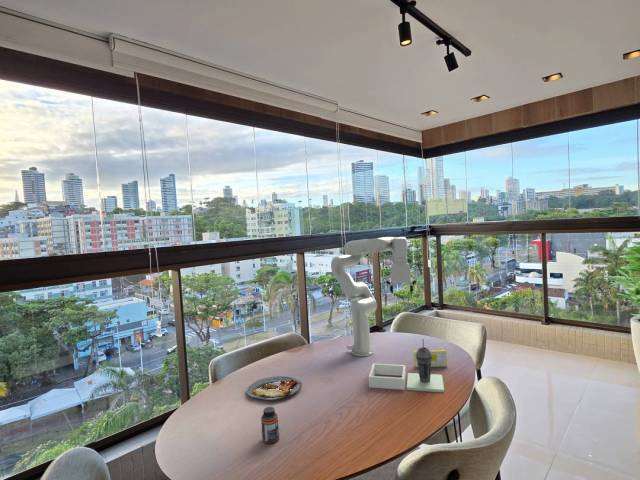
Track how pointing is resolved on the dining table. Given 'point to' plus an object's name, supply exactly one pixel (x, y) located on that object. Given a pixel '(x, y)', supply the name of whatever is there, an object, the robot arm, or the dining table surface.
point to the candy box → (435, 358)
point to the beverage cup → (424, 363)
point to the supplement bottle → (270, 425)
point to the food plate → (274, 394)
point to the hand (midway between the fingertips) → (401, 293)
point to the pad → (431, 386)
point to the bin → (387, 381)
